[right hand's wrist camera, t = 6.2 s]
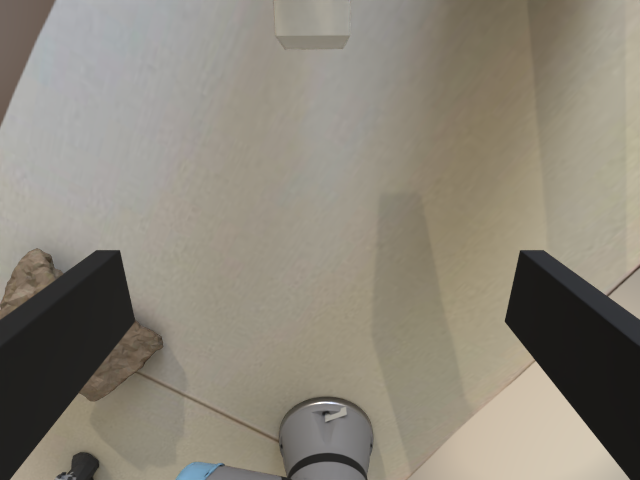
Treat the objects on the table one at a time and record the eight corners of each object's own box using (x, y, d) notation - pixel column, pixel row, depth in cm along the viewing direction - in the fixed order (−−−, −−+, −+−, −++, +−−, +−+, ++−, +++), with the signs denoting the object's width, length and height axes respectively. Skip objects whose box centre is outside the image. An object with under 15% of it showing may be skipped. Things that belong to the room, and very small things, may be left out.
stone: (-34, 319, 50) (-63, 344, 45) (41, 239, 50) (21, 255, 44) (107, 391, 59) (97, 419, 54) (172, 324, 59) (168, 345, 53)
